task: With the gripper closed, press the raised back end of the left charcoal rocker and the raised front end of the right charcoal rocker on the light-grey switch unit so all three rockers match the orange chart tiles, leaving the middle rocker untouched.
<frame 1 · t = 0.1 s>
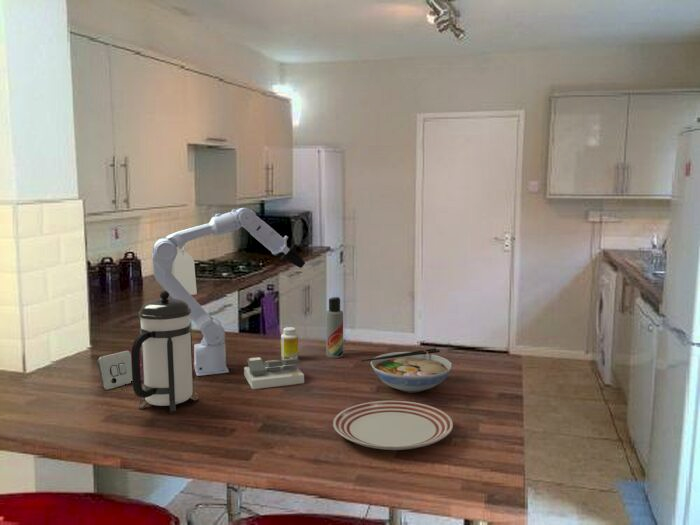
hand: (299, 263, 183), 32 cm above the countertop, tool tilted 50°, fingers open, 7 cm apart
supplement bottle: (289, 359, 190), on the countertop
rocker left: (256, 365, 167), point 5 cm above the countertop, hinge at 15.0°
ramen bowl: (410, 389, 162), on the countertop
electrical switch: (115, 385, 165), on the countertop
lotion bottle: (334, 356, 193), on the countertop
rocker right: (289, 361, 171), point 5 cm above the countertop, hinge at -15.0°
switch unit: (273, 379, 170), on the countertop
coffee press: (167, 406, 149), on the countertop
rocker middle: (273, 363, 169), point 5 cm above the countertop, hinge at -15.0°
milk: (183, 293, 306), on the countertop
dinner plate: (392, 434, 133), on the countertop
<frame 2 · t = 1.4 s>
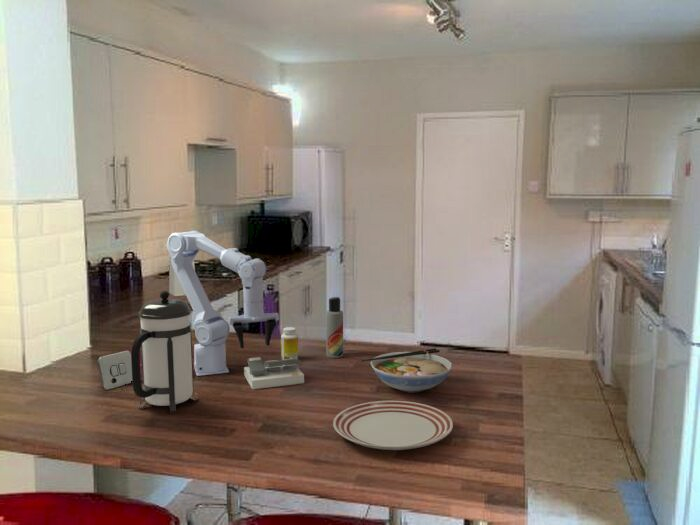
hand: (254, 346, 170), 10 cm above the countertop, tool pointing down, fingers open, 7 cm apart
nothing on the countertop moved.
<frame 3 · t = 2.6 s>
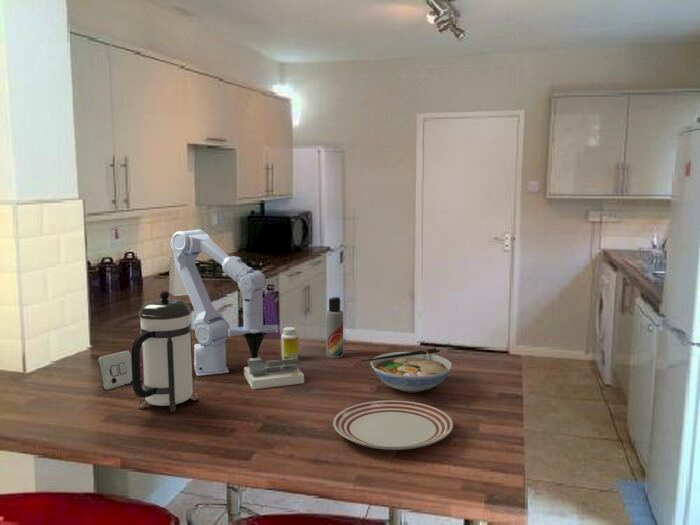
hand: (254, 357, 171), 6 cm above the countertop, tool pointing down, fingers closed, pressing on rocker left
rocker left: (256, 365, 167), point 5 cm above the countertop, hinge at 14.6°, touching gripper
everything else where it was.
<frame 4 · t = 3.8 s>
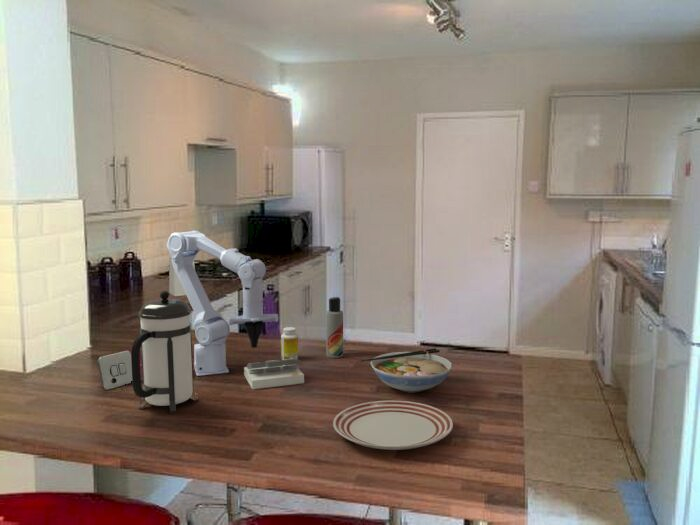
hand: (253, 346, 170), 9 cm above the countertop, tool pointing down, fingers closed
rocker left: (256, 365, 168), point 5 cm above the countertop, hinge at -18.4°
everything else where it was.
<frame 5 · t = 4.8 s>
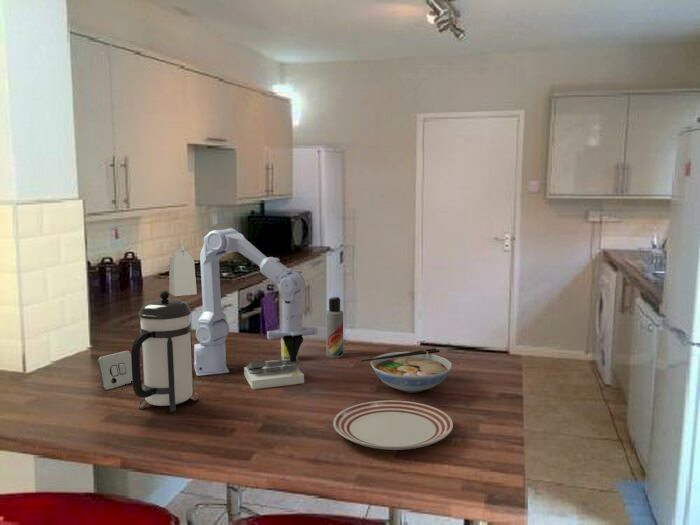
hand: (292, 360, 168), 6 cm above the countertop, tool pointing down, fingers closed, pressing on rocker right
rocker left: (256, 365, 168), point 5 cm above the countertop, hinge at -23.2°
rocker right: (289, 361, 171), point 5 cm above the countertop, hinge at -14.8°, touching gripper
everything else where it was.
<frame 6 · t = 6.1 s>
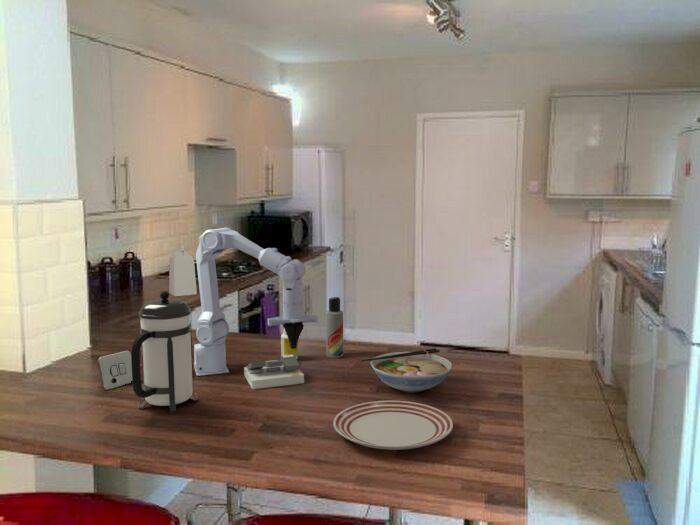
hand: (293, 347, 168), 10 cm above the countertop, tool pointing down, fingers closed
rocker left: (256, 365, 168), point 5 cm above the countertop, hinge at -23.6°, touching switch unit
rocker right: (290, 362, 171), point 5 cm above the countertop, hinge at 10.2°
everything else where it was.
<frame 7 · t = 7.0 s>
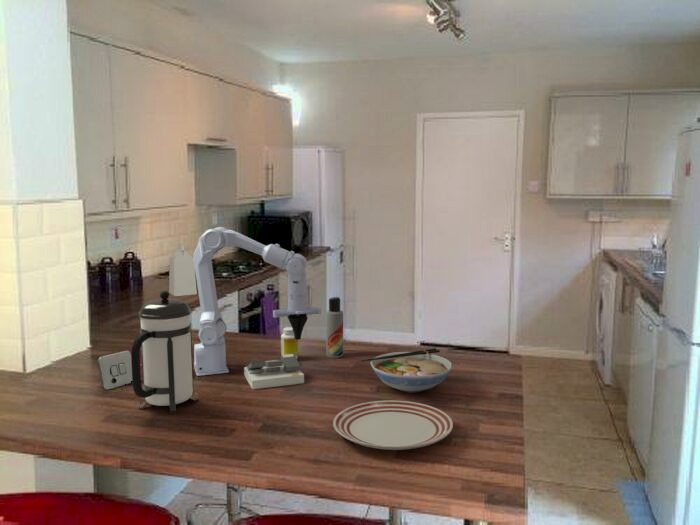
hand: (297, 338, 175), 10 cm above the countertop, tool pointing down, fingers closed
rocker right: (290, 362, 171), point 5 cm above the countertop, hinge at 14.3°
everything else where it was.
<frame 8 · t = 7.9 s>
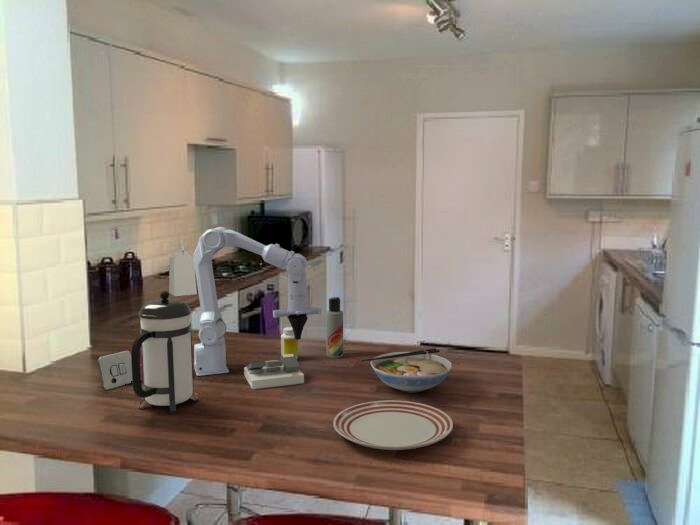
hand: (297, 338, 175), 10 cm above the countertop, tool pointing down, fingers closed
rocker right: (290, 362, 171), point 5 cm above the countertop, hinge at 15.5°
everything else where it was.
at the end: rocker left at -24° (first picture: +15°); rocker right at +16° (first picture: -15°); rocker middle at -15° (first picture: -15°) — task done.
